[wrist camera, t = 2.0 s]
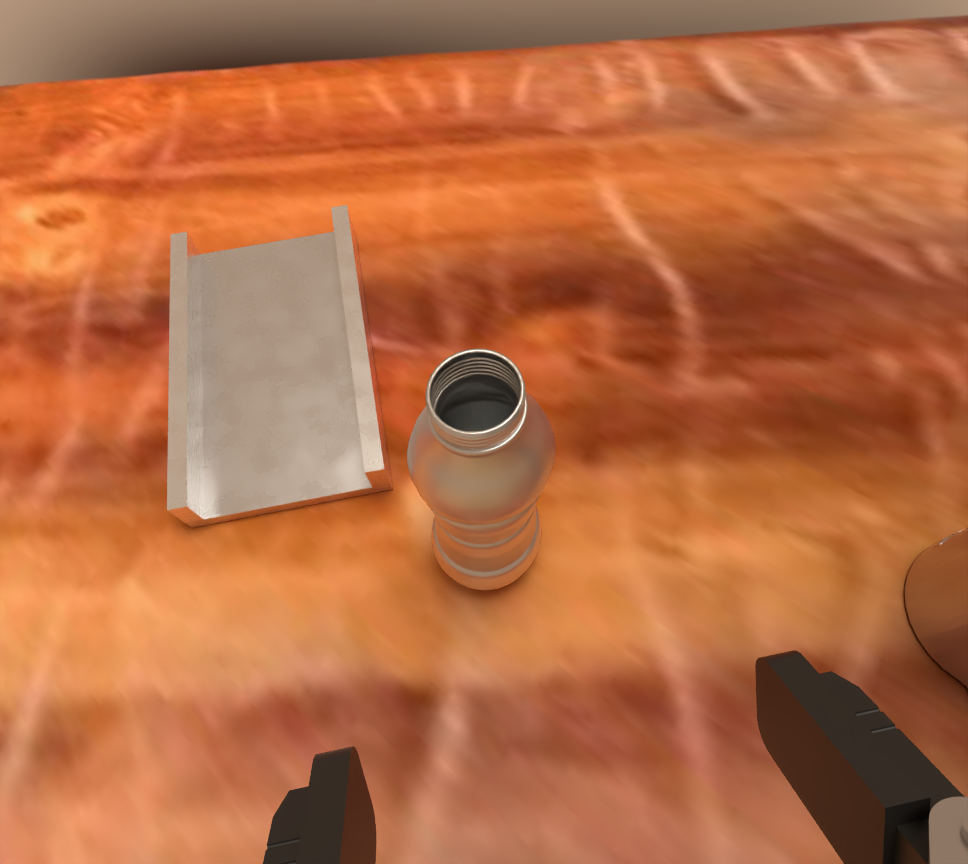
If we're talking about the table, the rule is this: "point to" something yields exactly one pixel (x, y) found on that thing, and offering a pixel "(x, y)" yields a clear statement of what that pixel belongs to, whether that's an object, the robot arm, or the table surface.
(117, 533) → the table surface
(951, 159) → the table surface
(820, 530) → the table surface
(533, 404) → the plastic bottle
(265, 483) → the aluminium track
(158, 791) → the table surface
